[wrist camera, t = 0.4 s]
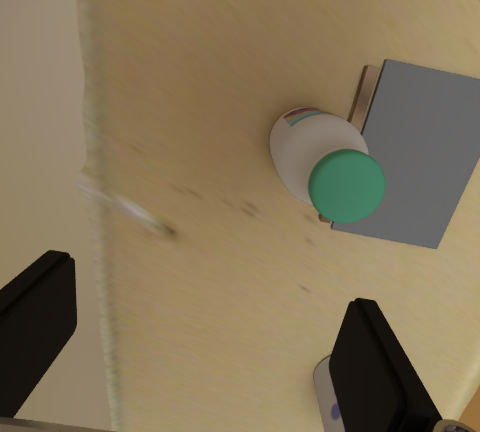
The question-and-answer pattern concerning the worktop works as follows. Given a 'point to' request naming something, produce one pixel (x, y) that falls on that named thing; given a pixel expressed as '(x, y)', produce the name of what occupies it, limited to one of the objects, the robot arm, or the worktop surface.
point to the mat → (420, 151)
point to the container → (327, 398)
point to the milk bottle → (326, 164)
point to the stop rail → (360, 103)
